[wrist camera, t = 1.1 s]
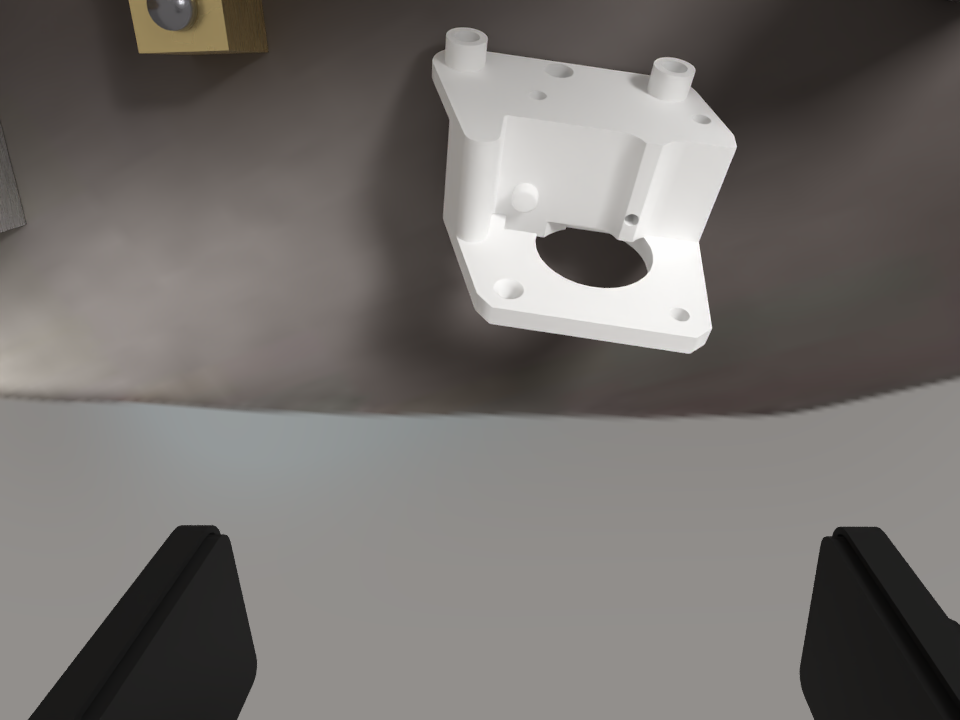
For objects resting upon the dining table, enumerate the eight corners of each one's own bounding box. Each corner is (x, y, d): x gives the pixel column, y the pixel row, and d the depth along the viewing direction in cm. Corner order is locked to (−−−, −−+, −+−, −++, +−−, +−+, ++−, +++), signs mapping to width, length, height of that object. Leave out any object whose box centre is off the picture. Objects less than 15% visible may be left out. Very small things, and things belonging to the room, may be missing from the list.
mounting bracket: (432, 155, 33) (385, 307, 26) (439, 18, 29) (384, 157, 22) (683, 192, 33) (706, 356, 26) (730, 60, 29) (774, 215, 21)
